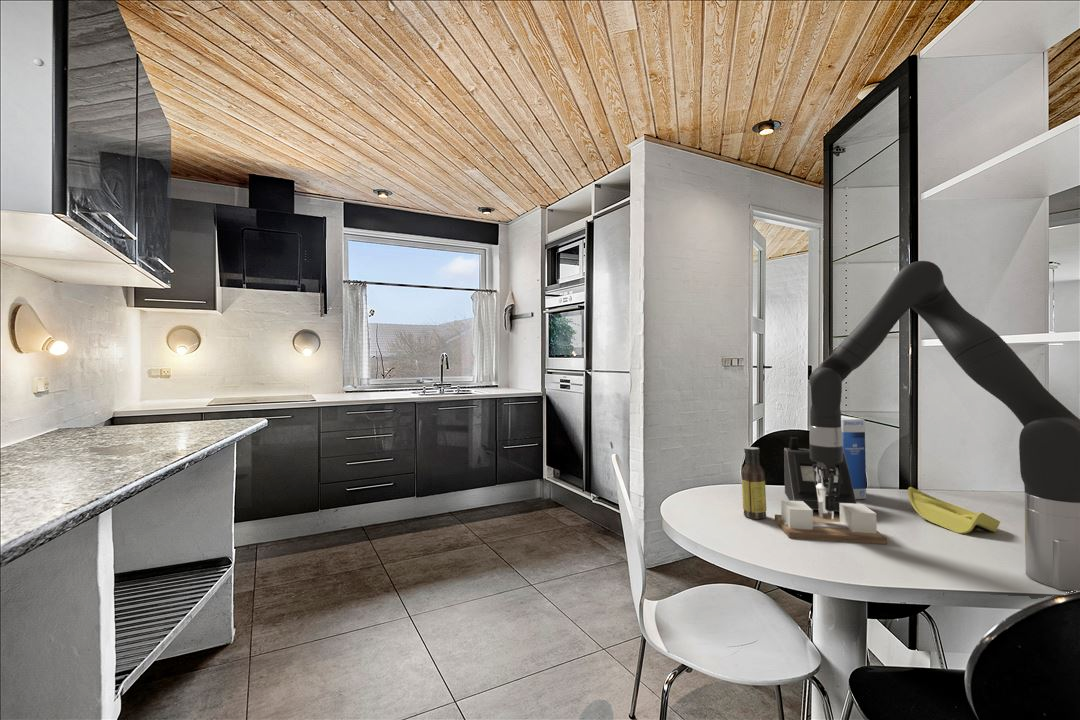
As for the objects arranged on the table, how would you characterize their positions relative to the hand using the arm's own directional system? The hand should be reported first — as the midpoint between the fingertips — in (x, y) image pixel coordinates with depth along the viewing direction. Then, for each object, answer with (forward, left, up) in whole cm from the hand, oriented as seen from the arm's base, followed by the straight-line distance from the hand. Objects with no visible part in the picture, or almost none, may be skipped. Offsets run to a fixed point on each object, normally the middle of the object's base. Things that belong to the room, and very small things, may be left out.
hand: (826, 507), depth 125 cm
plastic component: (+14, -35, -7) cm, 38 cm away
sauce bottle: (+9, +16, -6) cm, 20 cm away
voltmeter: (+22, -5, -7) cm, 23 cm away
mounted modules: (0, 0, -5) cm, 5 cm away
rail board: (0, 0, -6) cm, 6 cm away
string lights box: (+38, -17, -6) cm, 43 cm away
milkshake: (0, 0, -3) cm, 3 cm away
